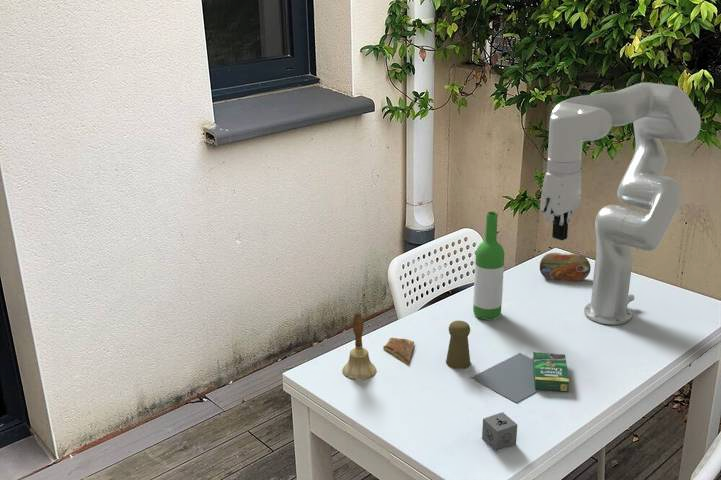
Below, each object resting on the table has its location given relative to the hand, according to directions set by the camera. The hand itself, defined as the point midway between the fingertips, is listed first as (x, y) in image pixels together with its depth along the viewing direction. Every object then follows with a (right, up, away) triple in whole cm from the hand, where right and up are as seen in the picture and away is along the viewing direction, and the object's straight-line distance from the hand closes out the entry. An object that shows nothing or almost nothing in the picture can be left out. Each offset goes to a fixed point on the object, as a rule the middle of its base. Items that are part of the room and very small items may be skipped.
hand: (559, 238), depth 184 cm
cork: (-24, -31, +5) cm, 39 cm away
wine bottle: (-13, -22, +29) cm, 38 cm away
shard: (-37, -29, +11) cm, 48 cm away
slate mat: (-10, -33, -2) cm, 35 cm away
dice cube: (-19, -43, -25) cm, 53 cm away
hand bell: (-48, -33, +2) cm, 58 cm away
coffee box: (-2, -29, +3) cm, 29 cm away
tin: (+14, -13, +50) cm, 54 cm away
